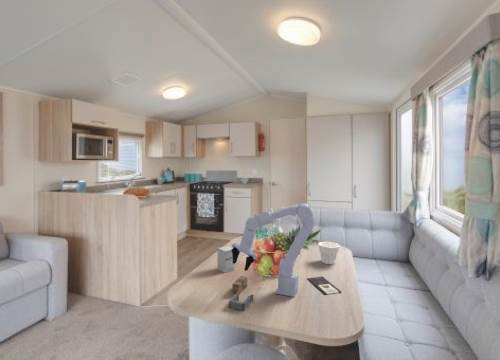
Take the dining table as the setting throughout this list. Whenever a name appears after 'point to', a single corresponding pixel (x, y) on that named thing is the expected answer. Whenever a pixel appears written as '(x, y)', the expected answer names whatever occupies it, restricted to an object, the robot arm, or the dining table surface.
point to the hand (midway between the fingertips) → (240, 266)
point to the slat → (239, 285)
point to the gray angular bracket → (239, 305)
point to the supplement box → (225, 259)
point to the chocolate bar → (324, 285)
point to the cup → (328, 252)
